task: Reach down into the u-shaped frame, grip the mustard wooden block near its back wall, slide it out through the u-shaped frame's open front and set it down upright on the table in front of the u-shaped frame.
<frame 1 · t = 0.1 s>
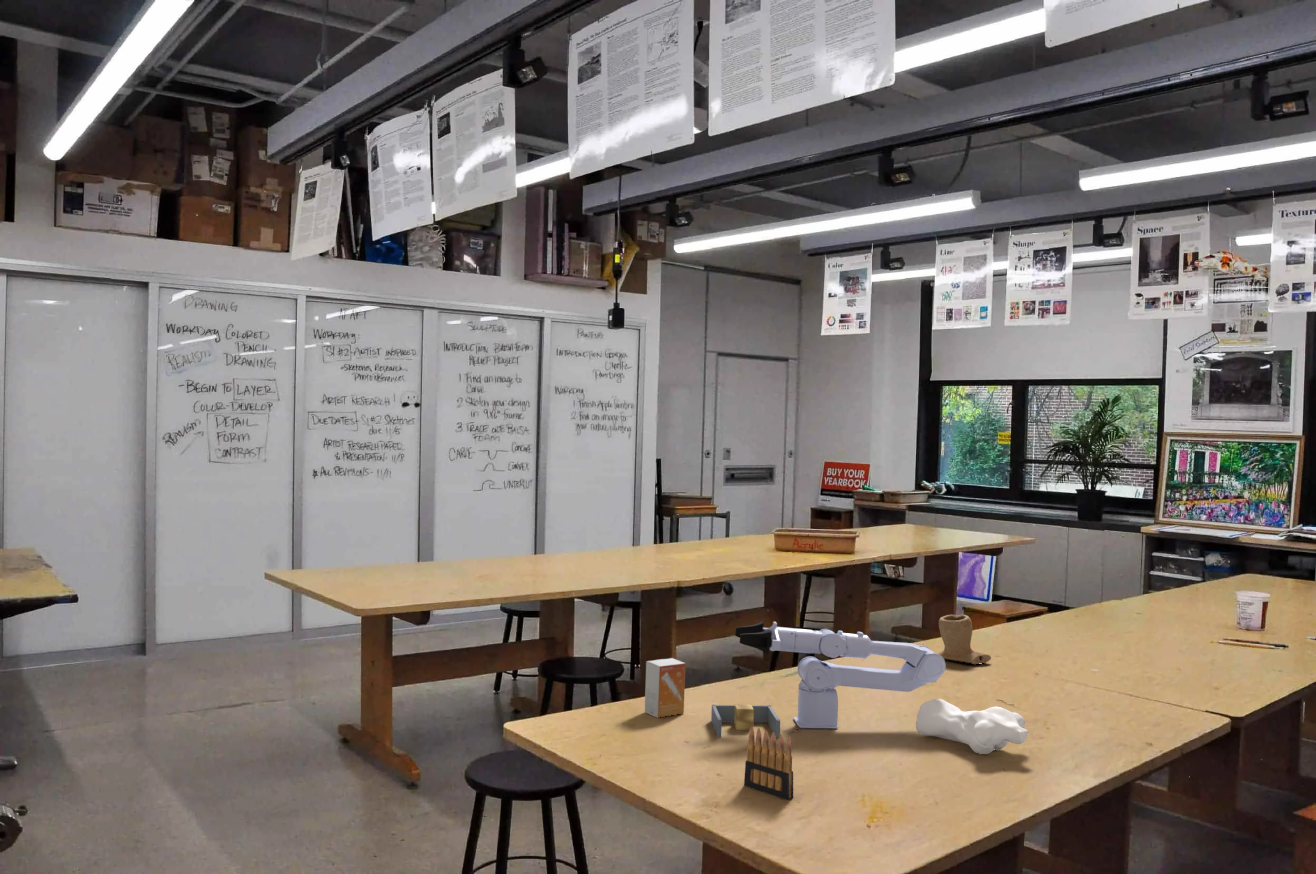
hand: (737, 635, 234), 22 cm above the table, tool horizontal, fingers open, 7 cm apart
u-shaped frame: (744, 729, 229), on the table
block: (743, 727, 231), on the table
tan textured boot shape: (960, 662, 308), on the table
ammunition clip: (768, 792, 189), on the table
torso sculpture: (974, 749, 220), on the table
small box: (664, 714, 241), on the table
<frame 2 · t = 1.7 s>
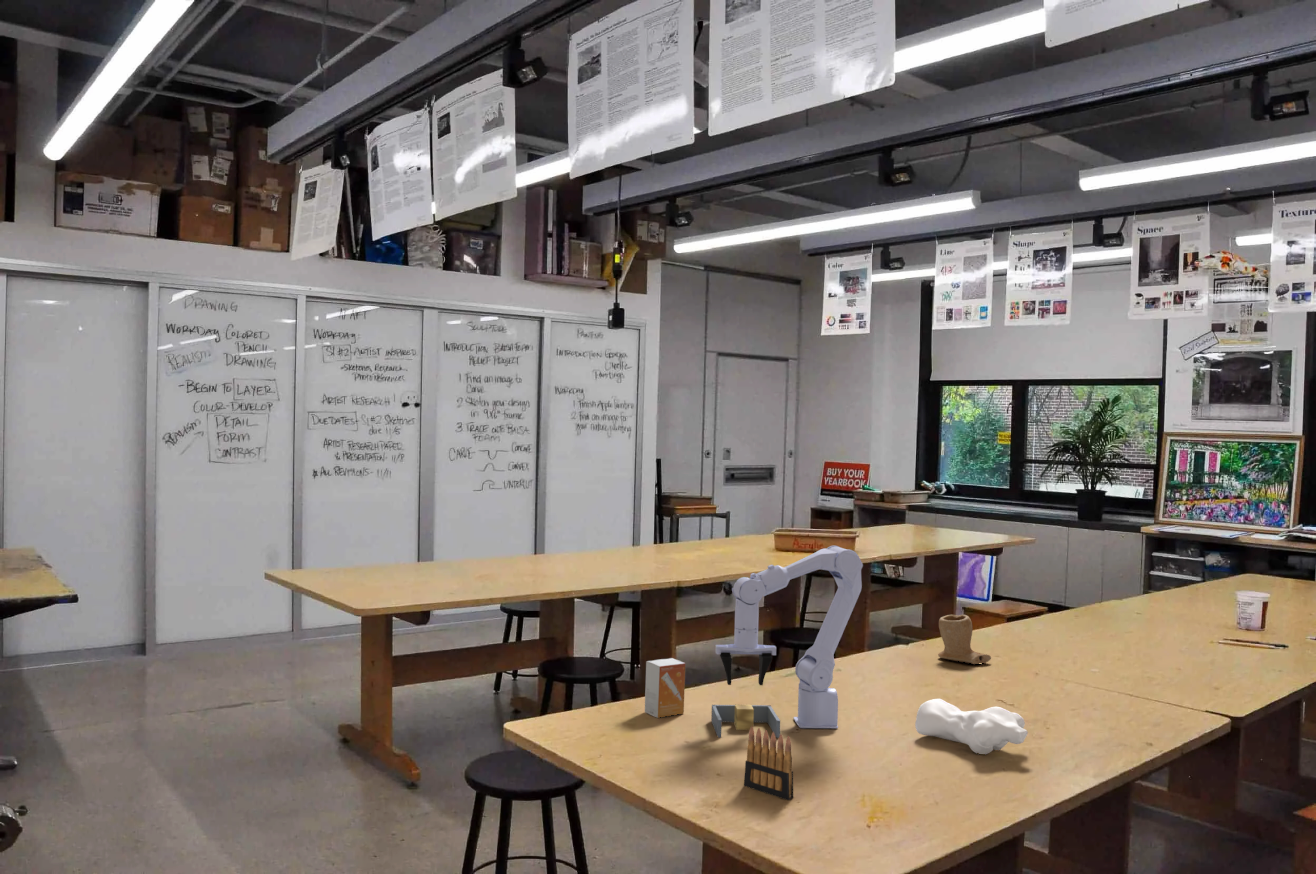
hand: (744, 684, 231), 10 cm above the table, tool pointing down, fingers open, 7 cm apart
nothing on the table moved.
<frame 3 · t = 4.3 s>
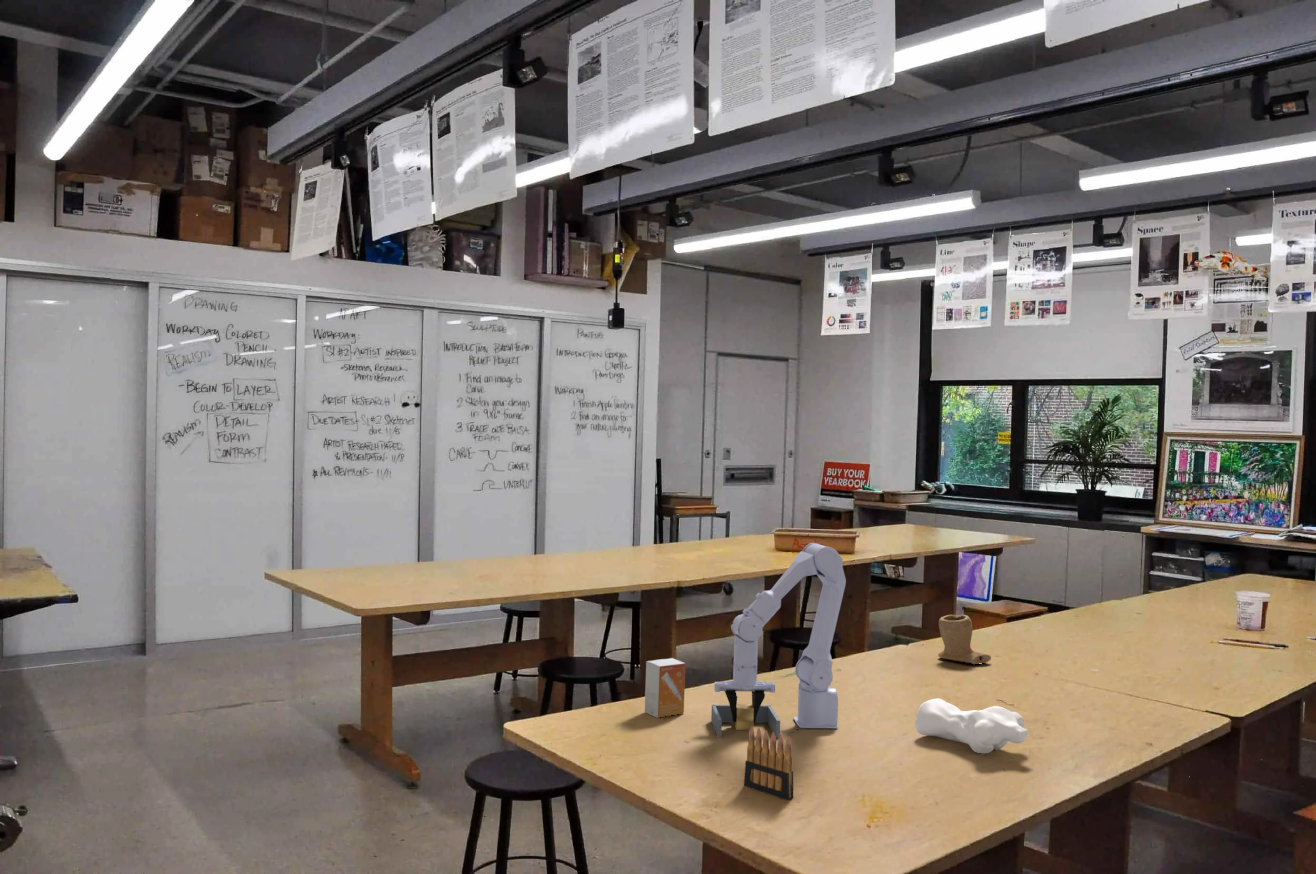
hand: (743, 721, 231), 1 cm above the table, tool pointing down, fingers closed on block, 4 cm apart
block: (743, 727, 231), on the table, touching gripper
everything else where it was.
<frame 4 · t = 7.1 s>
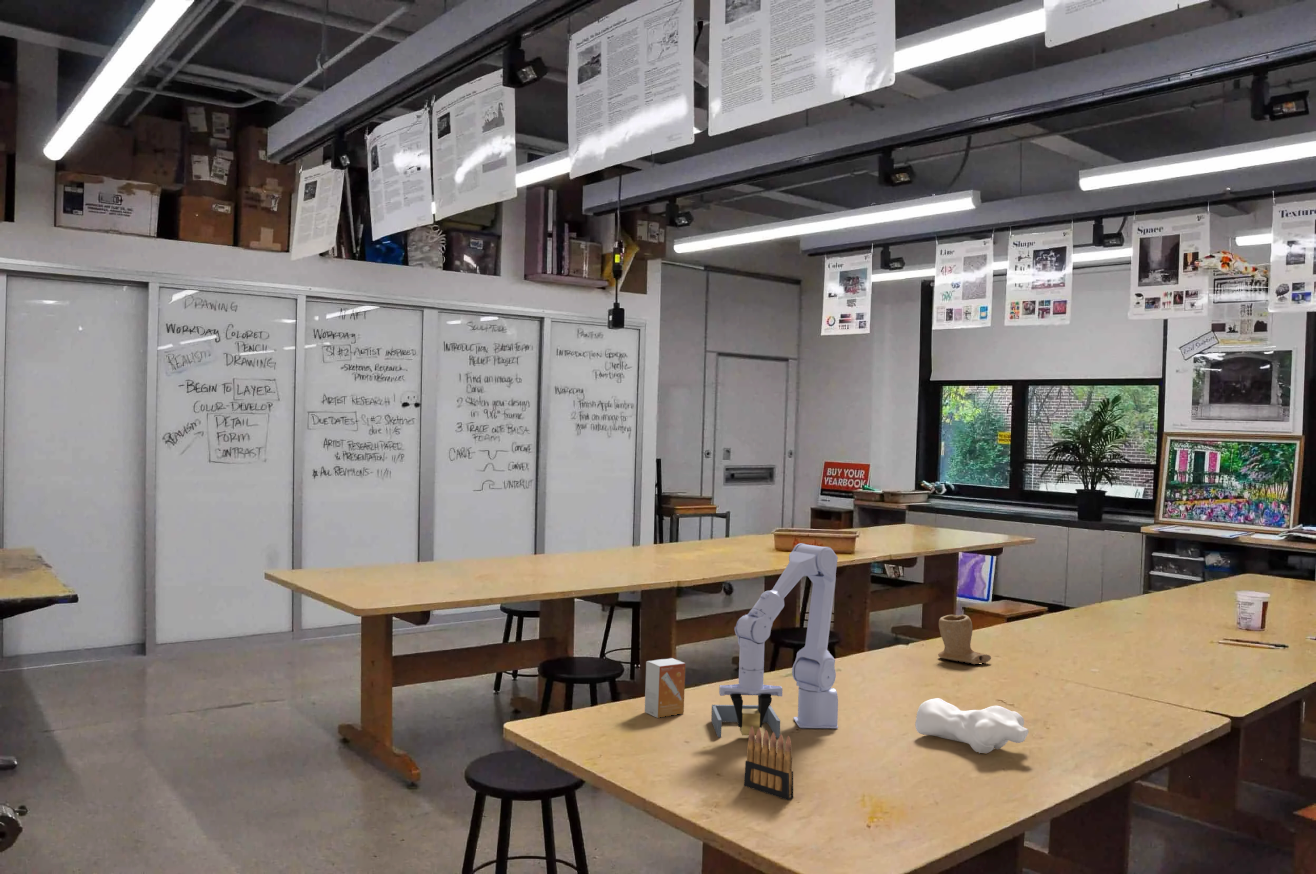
hand: (749, 726, 222), 3 cm above the table, tool pointing down, fingers closed on block, 4 cm apart
block: (749, 732, 222), point 1 cm above the table, touching gripper
everything else where it was.
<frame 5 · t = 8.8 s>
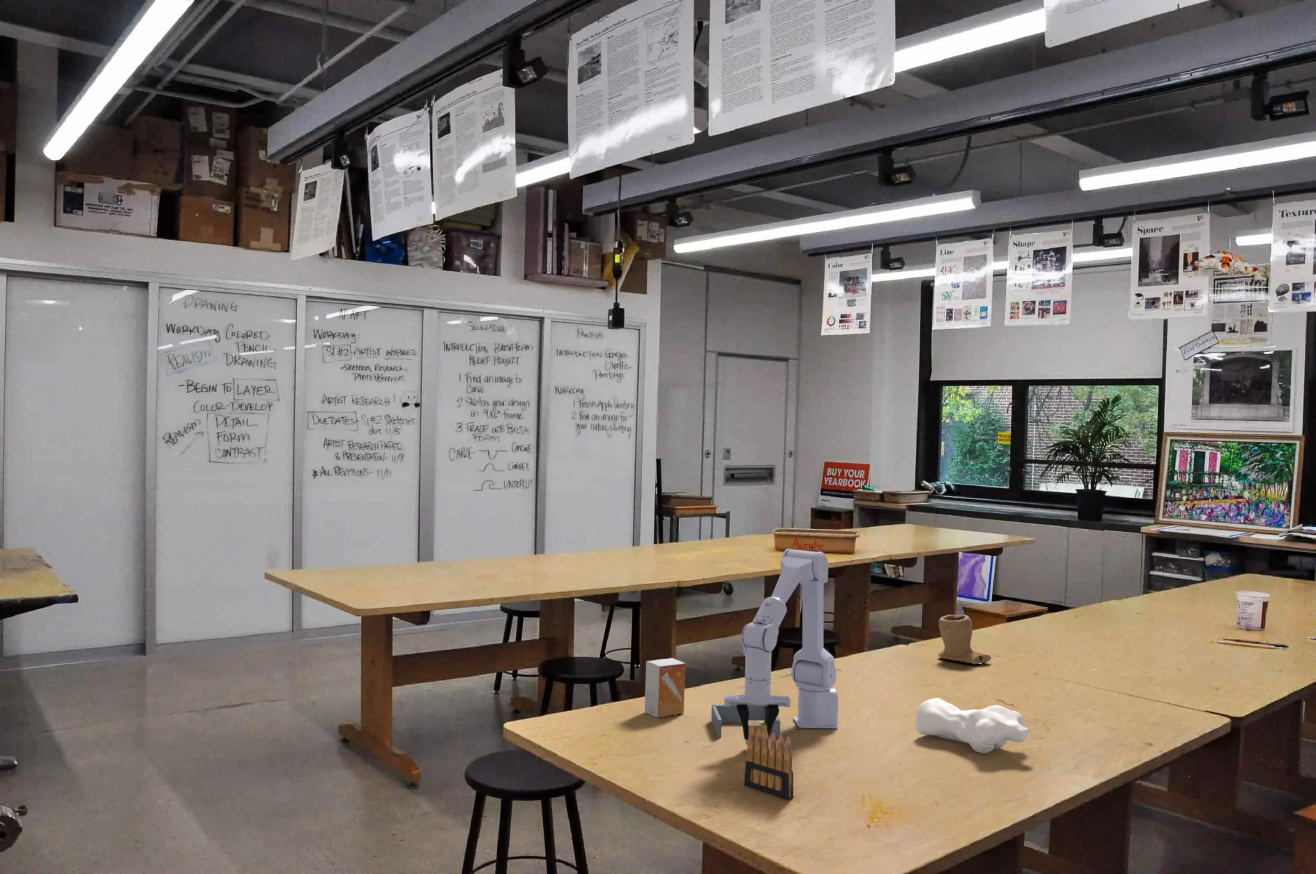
hand: (756, 738, 213), 3 cm above the table, tool pointing down, fingers closed on block, 4 cm apart
block: (755, 745, 213), point 1 cm above the table, touching gripper
everything else where it was.
when the fingers open (2 cm above the table, at t = 10.0 s): block stays where it is, on the table.
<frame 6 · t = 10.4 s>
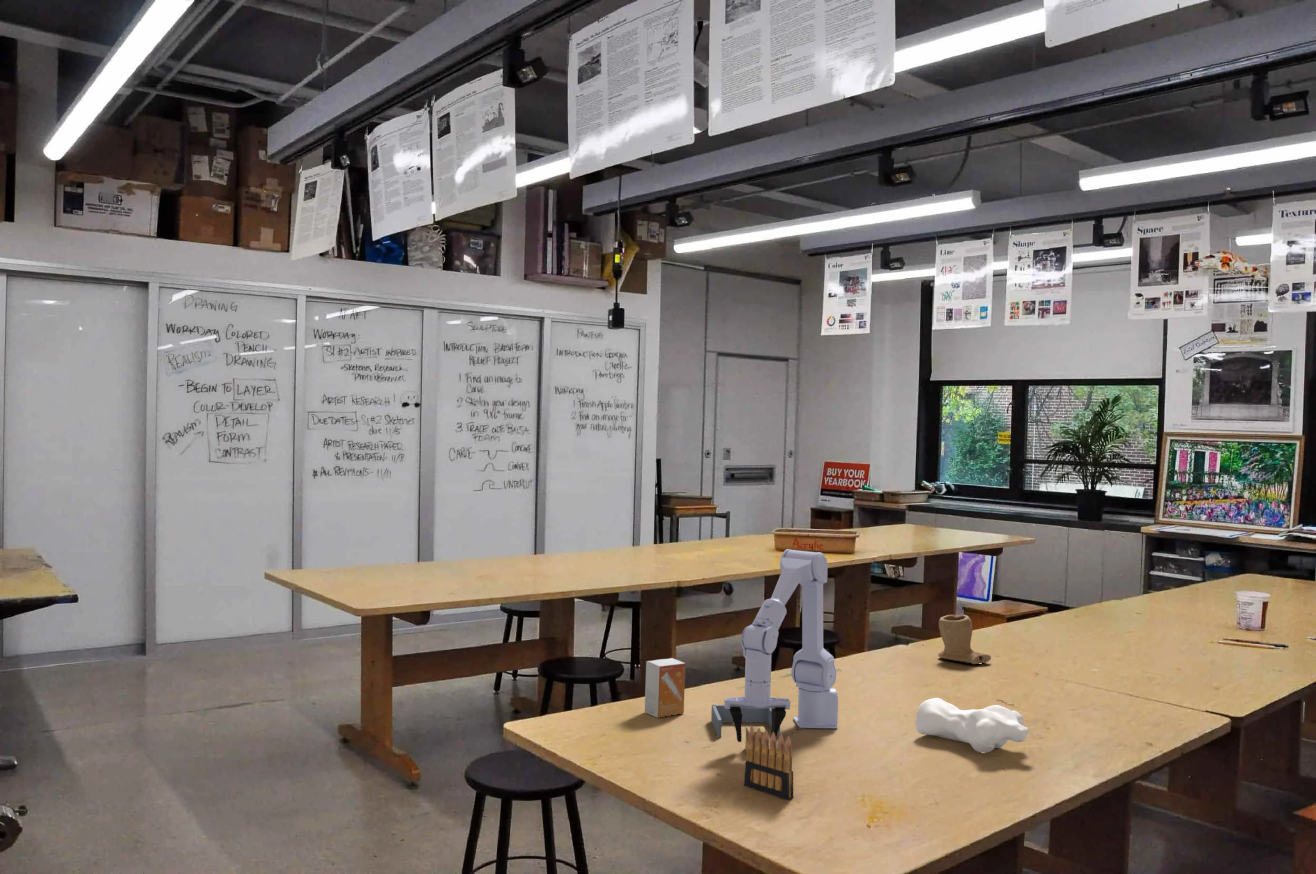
hand: (756, 740, 213), 2 cm above the table, tool pointing down, fingers open, 7 cm apart
block: (755, 751, 213), on the table
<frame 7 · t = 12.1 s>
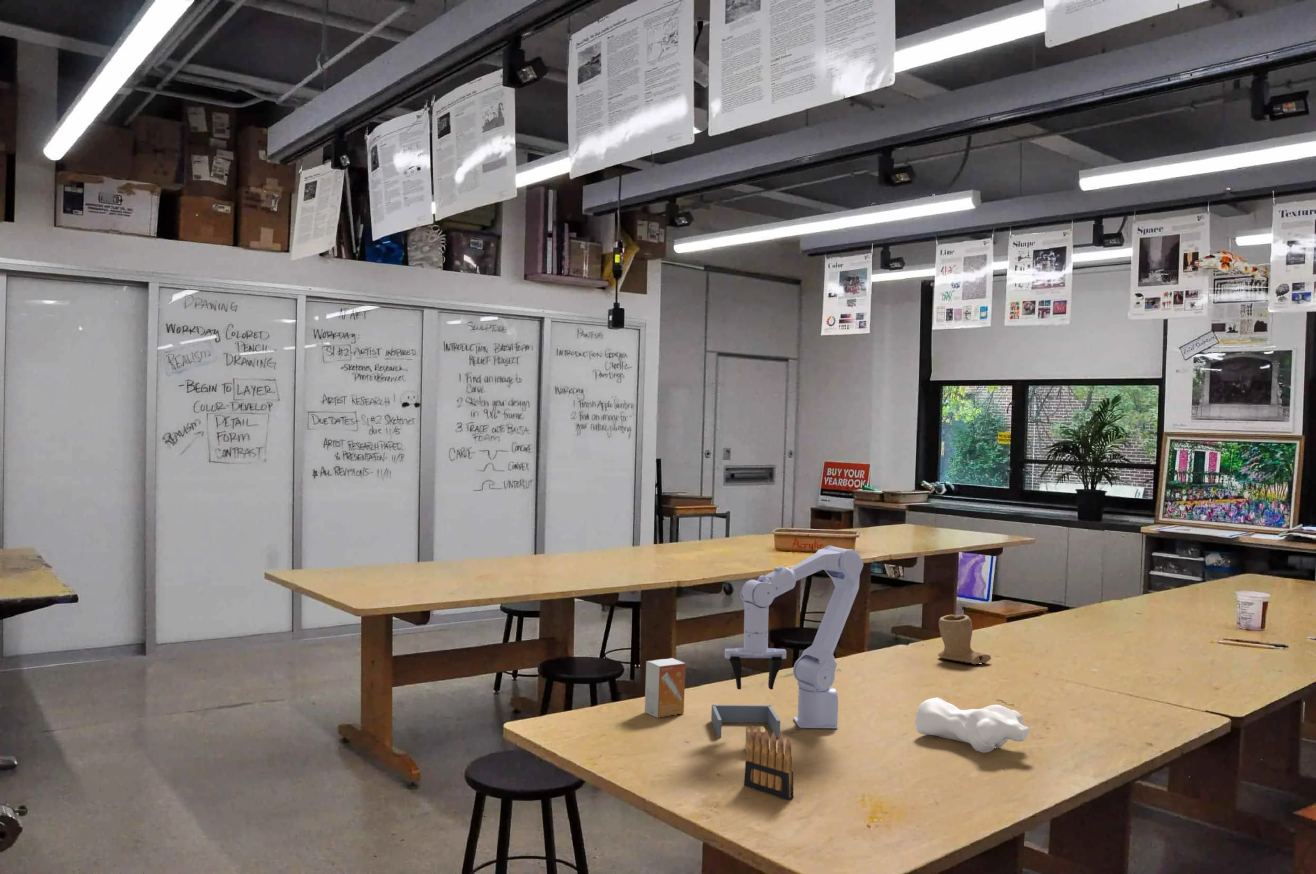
hand: (754, 688, 228), 10 cm above the table, tool pointing down, fingers open, 7 cm apart
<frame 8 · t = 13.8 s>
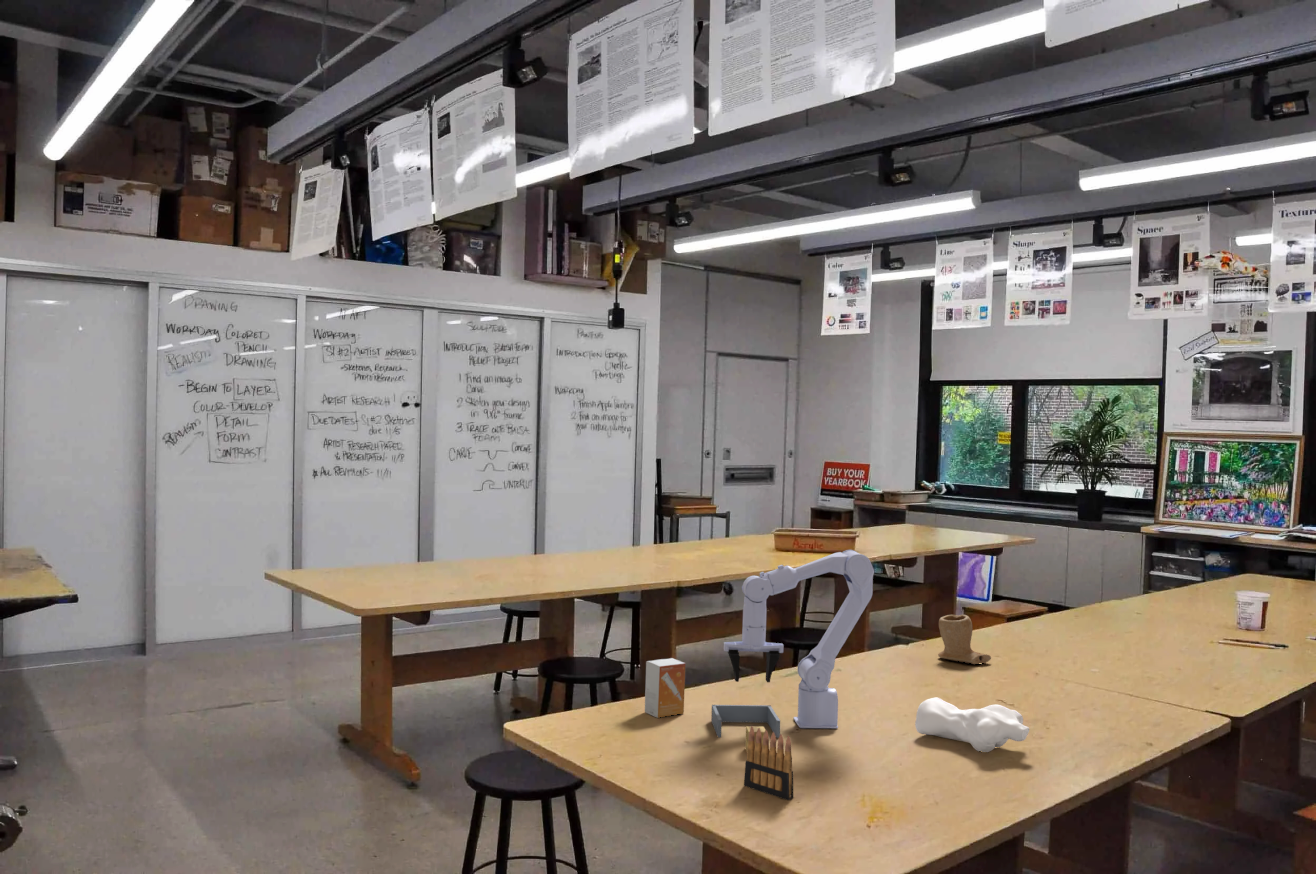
hand: (752, 681, 234), 10 cm above the table, tool pointing down, fingers open, 7 cm apart
at the end: block inside the target area (0.3 cm from its centre), on the table; block tilted 0°; the gripper is holding nothing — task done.
